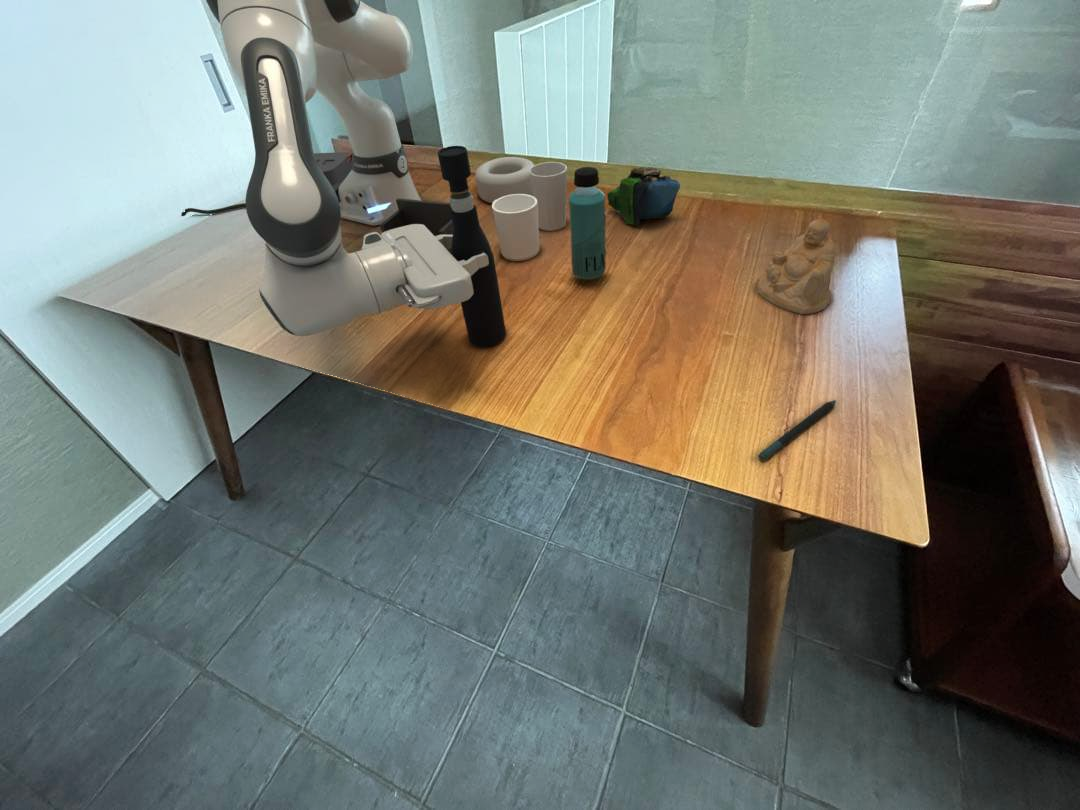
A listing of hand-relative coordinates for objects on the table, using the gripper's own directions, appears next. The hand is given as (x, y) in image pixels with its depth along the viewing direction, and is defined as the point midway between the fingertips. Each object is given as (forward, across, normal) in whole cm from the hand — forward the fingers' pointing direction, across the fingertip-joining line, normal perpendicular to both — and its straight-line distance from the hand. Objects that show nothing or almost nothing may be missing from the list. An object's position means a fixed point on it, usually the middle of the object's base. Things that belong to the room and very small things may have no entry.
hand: (476, 247), depth 78 cm
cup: (+29, +30, +16) cm, 45 cm away
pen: (+24, -43, +16) cm, 52 cm away
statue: (+48, -20, +16) cm, 55 cm away
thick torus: (+28, +52, +16) cm, 61 cm away
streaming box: (-9, +95, +16) cm, 97 cm away
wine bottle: (-1, 0, +16) cm, 16 cm away
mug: (+17, +24, +16) cm, 33 cm away
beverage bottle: (+23, +6, +16) cm, 29 cm away
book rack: (0, +29, +16) cm, 33 cm away
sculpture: (+46, +21, +16) cm, 54 cm away
